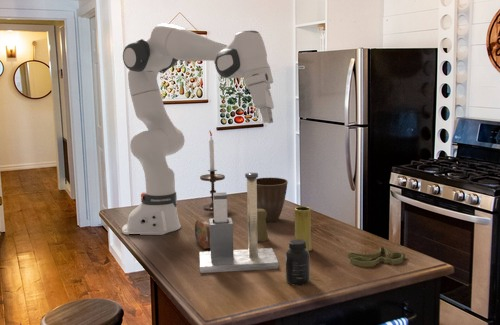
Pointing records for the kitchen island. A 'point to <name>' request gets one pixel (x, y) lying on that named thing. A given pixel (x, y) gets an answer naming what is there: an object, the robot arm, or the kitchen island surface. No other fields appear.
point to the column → (220, 207)
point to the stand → (222, 242)
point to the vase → (303, 225)
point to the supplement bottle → (297, 263)
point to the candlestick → (211, 175)
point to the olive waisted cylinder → (261, 225)
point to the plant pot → (271, 196)
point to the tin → (202, 233)
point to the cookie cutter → (366, 258)
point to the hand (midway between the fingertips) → (268, 122)
